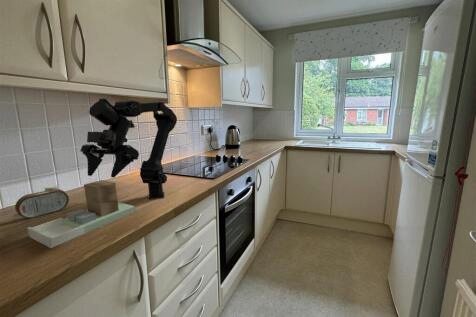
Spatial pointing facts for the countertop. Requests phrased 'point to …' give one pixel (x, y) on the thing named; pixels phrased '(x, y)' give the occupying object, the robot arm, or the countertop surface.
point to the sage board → (102, 218)
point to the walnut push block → (101, 197)
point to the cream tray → (54, 233)
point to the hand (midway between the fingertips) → (100, 176)
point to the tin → (41, 203)
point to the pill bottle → (51, 187)
